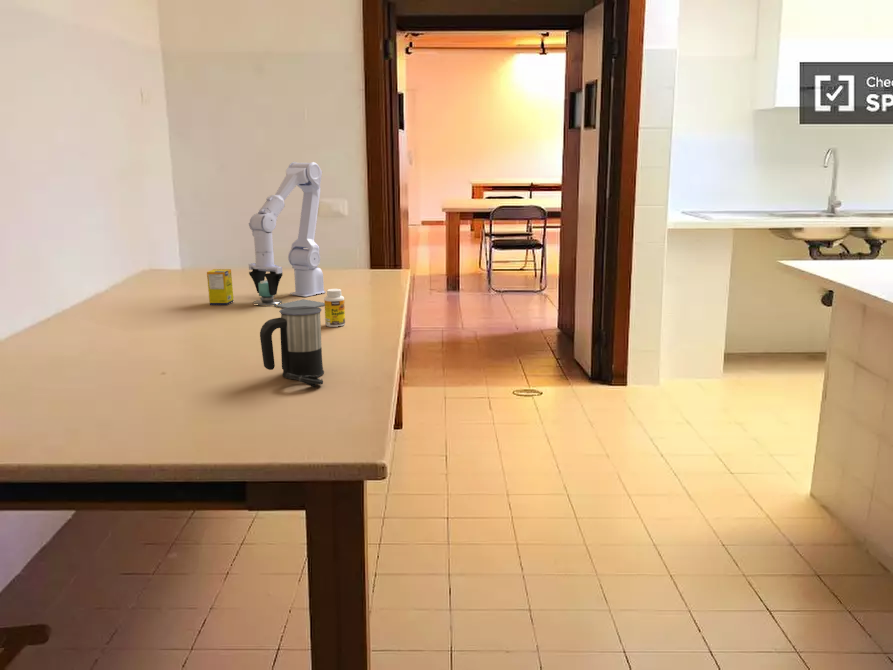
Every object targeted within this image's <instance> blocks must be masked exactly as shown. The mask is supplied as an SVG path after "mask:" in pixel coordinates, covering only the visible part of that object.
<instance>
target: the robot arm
mask: <svg viewBox="0 0 893 670" xmlns="http://www.w3.org/2000/svg"><path fill="white" fill-rule="evenodd" d="M322 173H323V171H322V169H321V167H320V165H319V164H318V163H316V162H315V161H312V162H297V161H293V162H291V163H290V164H289V165H288V167H287V168H286V169H285V176H284V178H283V180H282V182H281V183H280V186H279V187H278V189H277V190H276V192H275V194H271V195H269V196H267V197H266V200H265V201H264V203H263V205H262V206H261V207H260V208H259V209H258V212H257V213H254V214H253V215H252V216H251V217H250V219H249V223H248V226H249V229H250V230H251V232H252V233H251V234H252V236H253V242H254V254H255V255H254V256H255V262H252V263H251V262H250V263H248V270H249V271H248V275H249V276H250V277H251V279H252V281H253V283H254V286H255V288H256V289H255V290H256V292H257V293H258V294H259V286H258V283H259V282H260V281H265V279H266V280H267V282H268V286H269V293H270V295H273V296H275V295H277V293H278V290H279V289H278V288H279V284H280V281H281V278H283V266H279V265H277V264H275V253H274V240H273V231H274V230H275V229H276V226H277V221H278V217H280V216H279V215H280V214H281V213H282V211H283V210H284V208H285V207H286V206H285V205H286V203H285V200H286V199H287V198H288V197H289V195H290V194H291V193H292V192H293V191H294V189H295V188H296V187H298V188H299V189H301V191H302V192H303V196H302V204H301V209H300V210H301V212H300V218H299V219H300V221H299V226H298V227H299V228H298V233H297V238H296V240H294V242H292V243H291V247H290V250H289V252H288V257H287V259H288V263H289V265H290V266H292V267H291V268H292V269H293V270H294V271H293V272H294V274H293V275H294V292H289V295H291V294H292V295H291V296H296V297H297V296H298V297H306V298H307V297H311V296H315V295H316V294H317V295H321V293H322V294H325V293H326V294H327V291H326V290H325V286H324V285H325V284H324V282H325V281H324V273H323V270H322V268H320V267H318V266H320V263H321V254H320V246H319V245H318V244H317V242H315V237H316V230H317V229H316V228H317V222H318V213H319V206H320V198H321V190H322V188H321V182H322Z"/></svg>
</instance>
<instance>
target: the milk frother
mask: <svg viewBox="0 0 893 670" xmlns="http://www.w3.org/2000/svg"><path fill="white" fill-rule="evenodd" d="M321 312H322V308H321V307H310V306H298V307H289V308H280V309H279V313H280V315H281V317H275V318H271V319H269V320H267V321H266V322H264V323H263V324H262V326H261V328H260V332H259V338H260V339H259V340H260V346H261V348H260V349H261V353H262V362H263V363H262V364H263V367H264V368H265V369H266V370H269V371H272V370H274V369H275V366H276V365H275V363H276V362H275V356H274V355H275V353H274V345H273V333H274V332H275V331H276V330H277V329H280V330H279V333H280V334H279V335H280V353H281V354H280V355H281V359H280V360H281V369H282V373H281V375H282V377H284V378H286V379H289V380H295V381H298V382H301V383H304V384H306V385H308V386H310V387H311V388H315V387H316V386H317V385H323V384H324V380H323V378H321V379H320V378H319V377H321V376H323V375H324V374H325V371H324V367H323V366H324V365H323V353H322V350H323V349H322V330H321V326H322V325H321V324H322V323H321Z"/></svg>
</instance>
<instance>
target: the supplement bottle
mask: <svg viewBox="0 0 893 670" xmlns="http://www.w3.org/2000/svg"><path fill="white" fill-rule="evenodd" d="M323 301H324V303H325V306H324V320H325V326H327V327H328V328H329V327H330V328H339V327H338V326H341V327H344V326H345V324H346V310H345V309H346V308H345V297H344V295H342V289H340V288H329V289H327V290H326V296H325V297H324V300H323Z"/></svg>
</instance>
